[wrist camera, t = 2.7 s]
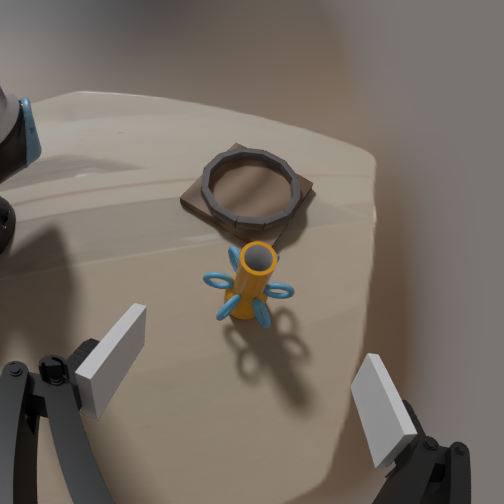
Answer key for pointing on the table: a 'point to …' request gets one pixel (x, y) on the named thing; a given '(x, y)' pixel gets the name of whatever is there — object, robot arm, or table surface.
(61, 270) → the table surface
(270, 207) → the hub board
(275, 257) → the cylinder
